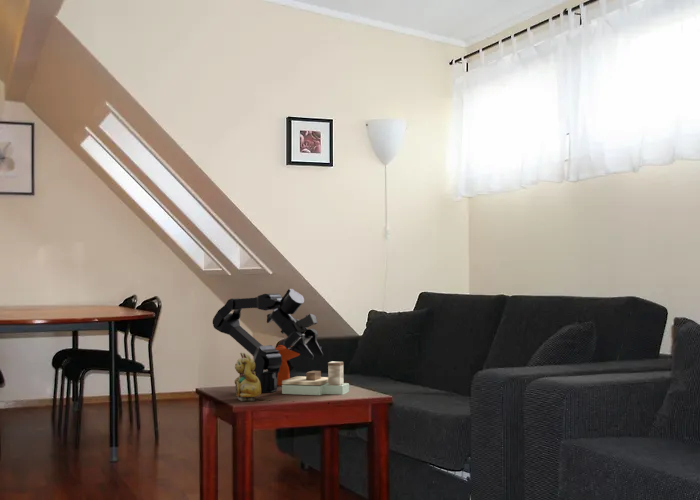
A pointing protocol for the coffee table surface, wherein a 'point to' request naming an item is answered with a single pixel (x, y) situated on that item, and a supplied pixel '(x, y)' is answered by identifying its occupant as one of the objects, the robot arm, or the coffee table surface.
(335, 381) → the cream upright cylinder
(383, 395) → the coffee table surface
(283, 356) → the toy drill
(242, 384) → the decorative figurine
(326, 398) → the coffee table surface
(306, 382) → the lid
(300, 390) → the pale green tray
